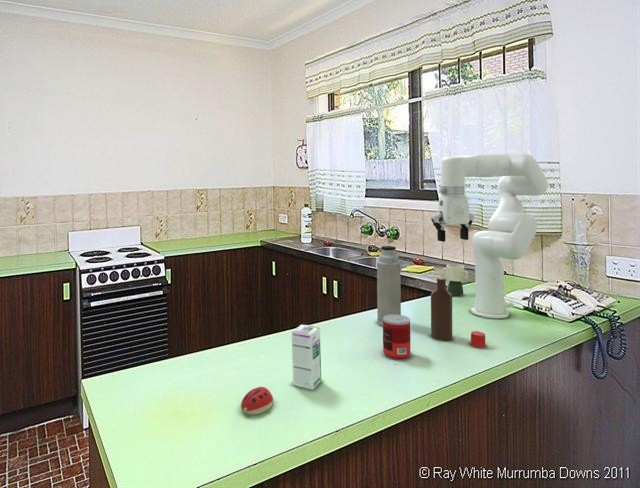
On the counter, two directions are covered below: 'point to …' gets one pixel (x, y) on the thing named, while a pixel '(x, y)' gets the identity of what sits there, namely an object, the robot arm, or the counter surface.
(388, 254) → the thermos bottle
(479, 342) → the cap
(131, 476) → the counter surface
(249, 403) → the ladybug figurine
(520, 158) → the robot arm
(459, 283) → the character mug
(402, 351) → the canned food
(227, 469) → the counter surface
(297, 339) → the syrup box
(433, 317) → the bottle
